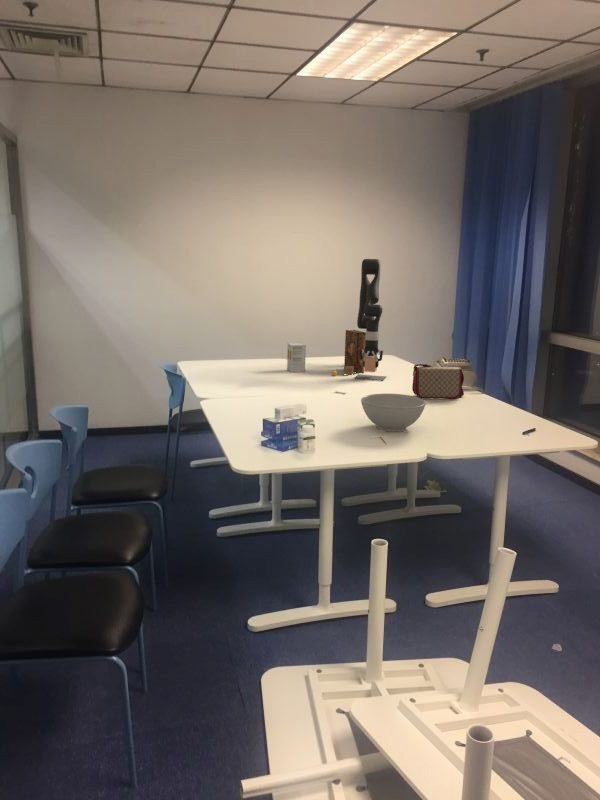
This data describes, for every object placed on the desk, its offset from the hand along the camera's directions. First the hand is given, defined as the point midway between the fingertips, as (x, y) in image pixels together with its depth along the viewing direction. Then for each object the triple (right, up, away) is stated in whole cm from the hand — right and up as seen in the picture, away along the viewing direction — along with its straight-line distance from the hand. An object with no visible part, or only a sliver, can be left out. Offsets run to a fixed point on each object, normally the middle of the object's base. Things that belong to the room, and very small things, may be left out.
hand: (370, 367), depth 376 cm
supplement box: (-44, -1, +20) cm, 48 cm away
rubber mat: (0, -6, +2) cm, 7 cm away
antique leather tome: (-8, -2, +23) cm, 24 cm away
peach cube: (0, -2, 0) cm, 2 cm away
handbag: (+30, -18, -44) cm, 56 cm away
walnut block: (-12, -4, +11) cm, 17 cm away
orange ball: (-21, -3, +6) cm, 22 cm away
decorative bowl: (-3, -31, -105) cm, 110 cm away
